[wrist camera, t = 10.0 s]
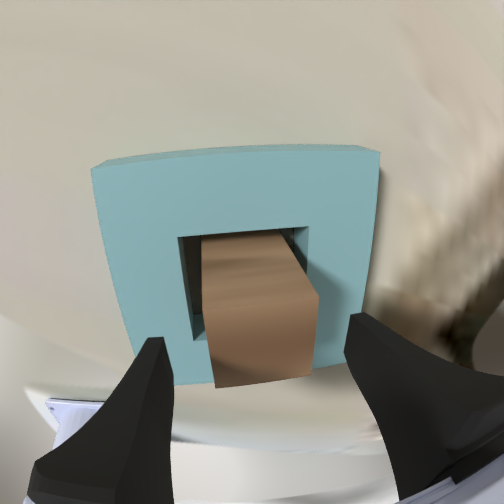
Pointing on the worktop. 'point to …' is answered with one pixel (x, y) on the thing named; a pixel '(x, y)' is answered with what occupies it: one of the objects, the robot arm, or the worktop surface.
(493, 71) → the worktop surface
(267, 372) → the walnut peg
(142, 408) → the robot arm
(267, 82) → the worktop surface
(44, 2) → the worktop surface
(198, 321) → the socket plate
